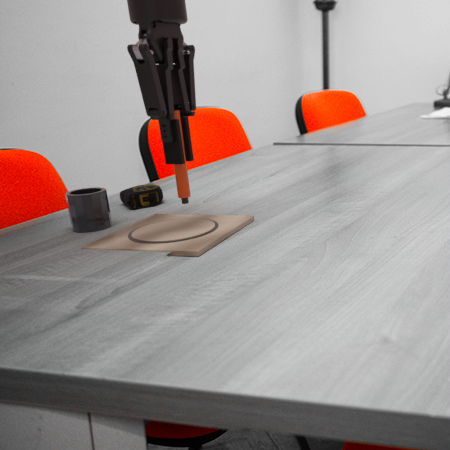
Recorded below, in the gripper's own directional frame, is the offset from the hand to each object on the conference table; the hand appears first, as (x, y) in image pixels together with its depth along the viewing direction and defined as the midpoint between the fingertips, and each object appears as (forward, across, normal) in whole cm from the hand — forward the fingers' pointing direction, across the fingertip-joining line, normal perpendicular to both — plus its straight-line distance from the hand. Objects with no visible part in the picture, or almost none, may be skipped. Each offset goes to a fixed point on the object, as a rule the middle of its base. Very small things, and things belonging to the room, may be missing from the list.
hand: (180, 162), depth 86 cm
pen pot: (+11, -1, +17) cm, 20 cm away
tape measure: (+11, +13, +18) cm, 25 cm away
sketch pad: (+11, -2, +2) cm, 11 cm away
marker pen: (+6, 0, 0) cm, 6 cm away
